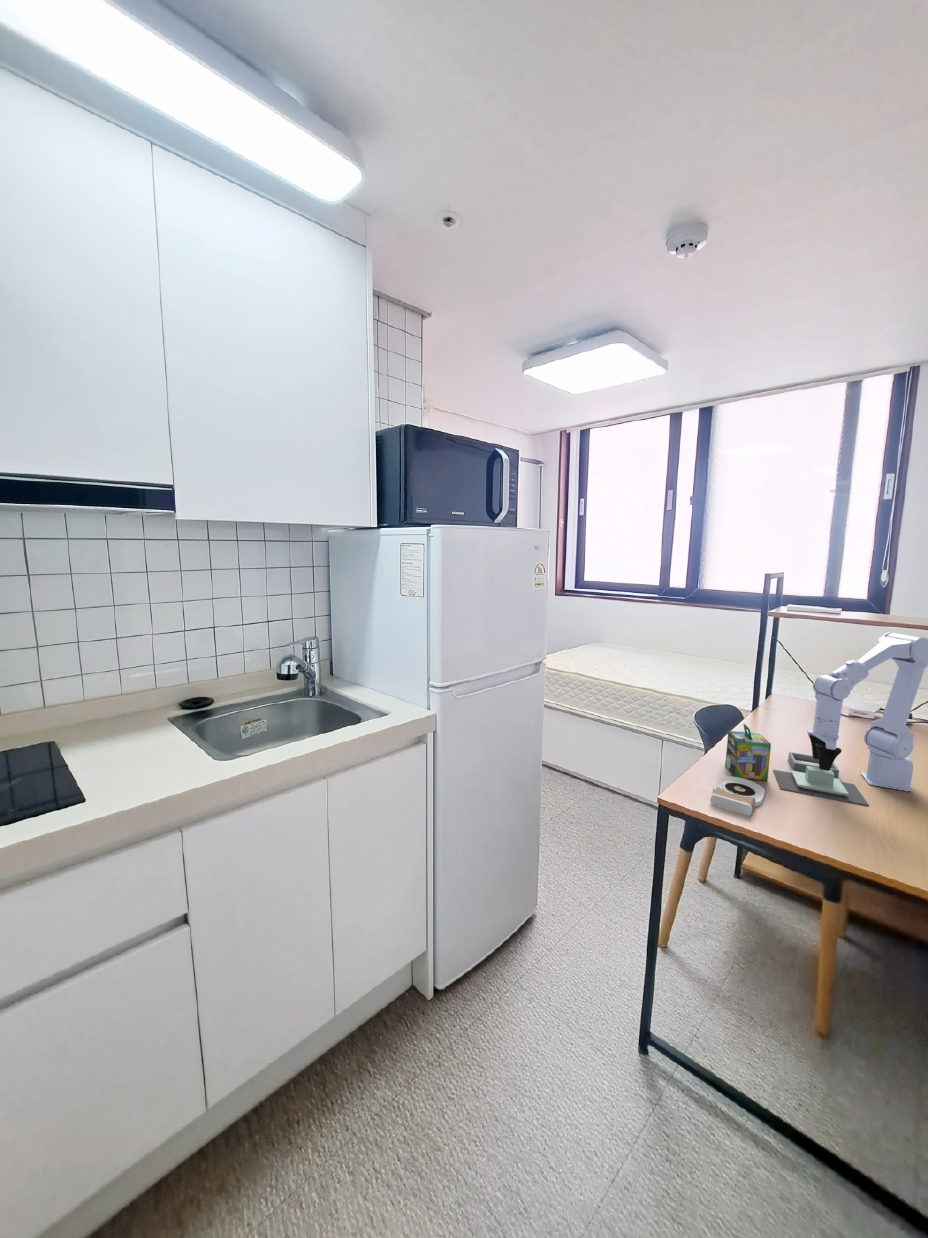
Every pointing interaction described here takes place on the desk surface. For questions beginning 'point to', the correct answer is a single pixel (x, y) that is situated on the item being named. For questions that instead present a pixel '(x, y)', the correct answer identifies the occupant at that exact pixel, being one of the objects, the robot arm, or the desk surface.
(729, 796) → the record player
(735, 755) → the chalk box
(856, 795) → the rubber mat
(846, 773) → the desk surface
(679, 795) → the desk surface
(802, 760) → the chalk tray box
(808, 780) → the lid
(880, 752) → the robot arm
